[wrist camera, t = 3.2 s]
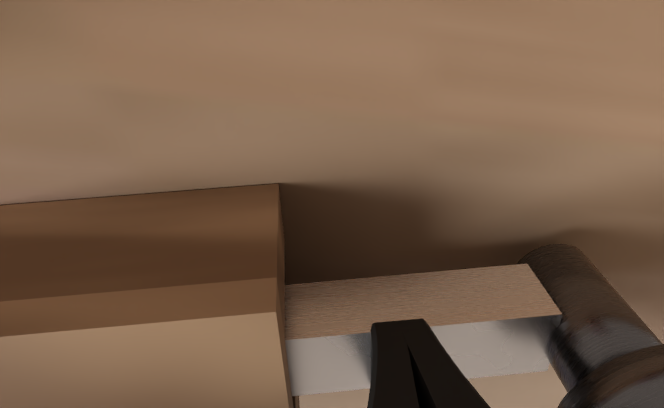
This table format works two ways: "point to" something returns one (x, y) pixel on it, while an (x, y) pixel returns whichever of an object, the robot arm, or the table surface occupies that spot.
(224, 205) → the wooden mallet head
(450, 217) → the table surface
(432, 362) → the robot arm
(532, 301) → the handle rod
